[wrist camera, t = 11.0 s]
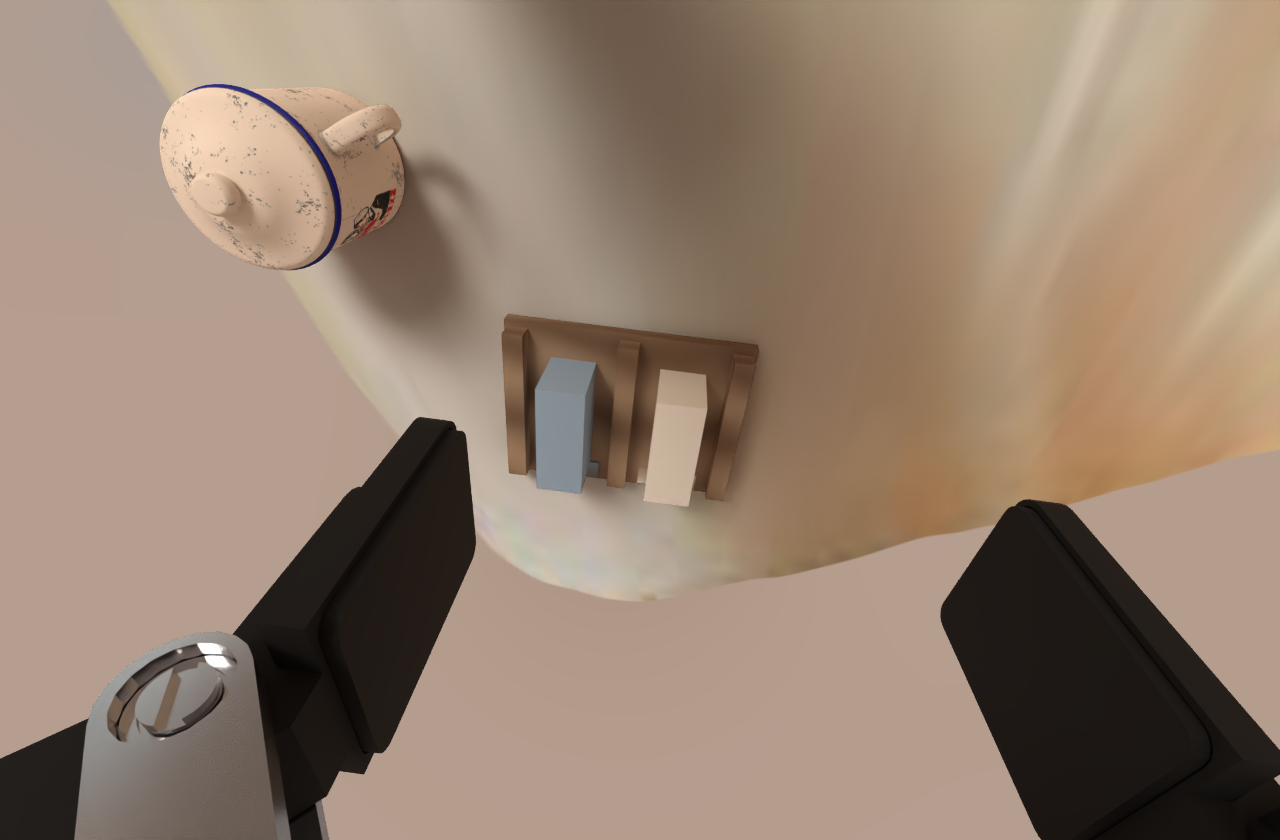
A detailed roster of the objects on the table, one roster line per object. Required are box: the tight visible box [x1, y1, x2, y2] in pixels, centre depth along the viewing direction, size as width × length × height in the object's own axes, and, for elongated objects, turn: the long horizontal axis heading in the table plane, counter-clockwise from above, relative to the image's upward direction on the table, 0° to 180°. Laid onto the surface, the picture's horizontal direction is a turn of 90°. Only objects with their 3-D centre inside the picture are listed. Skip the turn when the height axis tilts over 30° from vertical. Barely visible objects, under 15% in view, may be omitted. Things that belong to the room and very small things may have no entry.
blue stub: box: [535, 357, 596, 494], centre depth 41 cm, size 9×4×5 cm, turn 174°
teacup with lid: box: [160, 84, 405, 270], centre depth 30 cm, size 12×9×12 cm
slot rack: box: [502, 314, 759, 501], centre depth 43 cm, size 14×19×2 cm
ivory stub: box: [644, 369, 707, 507], centre depth 41 cm, size 9×4×5 cm, turn 174°
